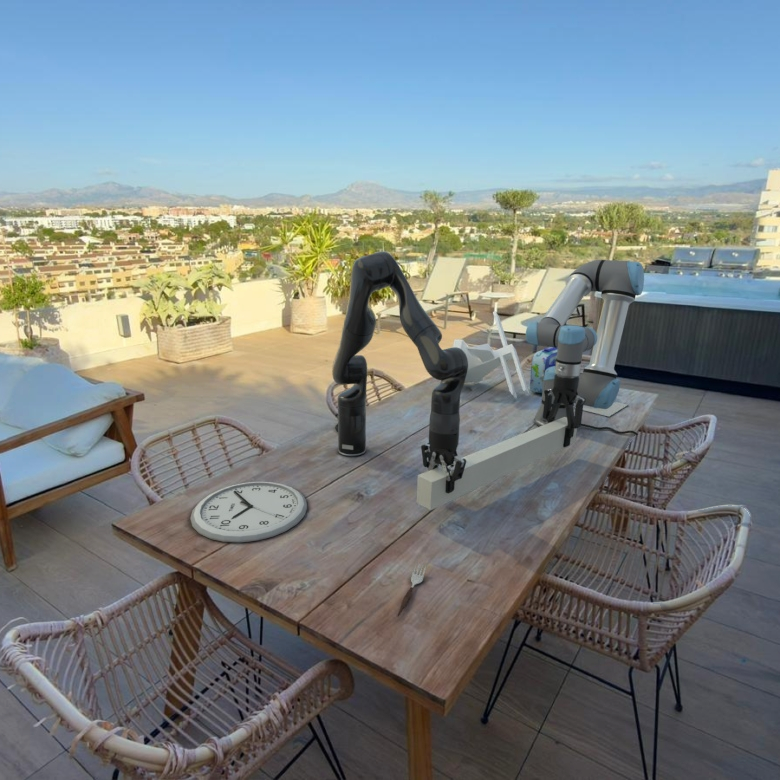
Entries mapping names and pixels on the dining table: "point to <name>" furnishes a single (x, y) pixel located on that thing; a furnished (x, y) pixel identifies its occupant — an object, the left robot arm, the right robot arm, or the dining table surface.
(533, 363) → the lunch box
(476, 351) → the white plastic object
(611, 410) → the invitation card
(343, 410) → the left robot arm
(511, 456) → the bar
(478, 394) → the dining table surface
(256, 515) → the wall clock
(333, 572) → the dining table surface
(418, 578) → the fork
